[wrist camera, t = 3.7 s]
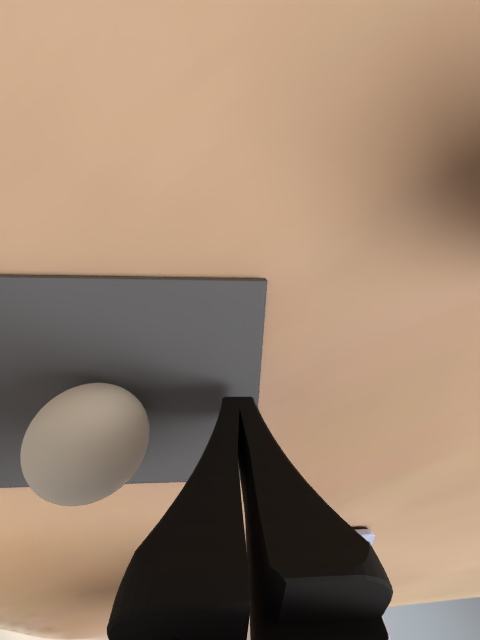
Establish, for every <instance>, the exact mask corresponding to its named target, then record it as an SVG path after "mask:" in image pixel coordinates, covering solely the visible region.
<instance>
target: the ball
mask: <svg viewBox="0 0 480 640" xmlns="http://www.w3.org/2000/svg"><path fill="white" fill-rule="evenodd" d="M149 434H150V429H149V421H148V417H147V414H146V411H145V409H144V407H143V406H142V404H141V402H140V401H139V400H138V399H137V398H136V397H135V396H134V395H133V394H132V393H130V392H129V391H127V390H126V389H124V388H122V387H119V386H117V385H113V384H108V383H89V384H83V385H80V386H76V387H73V388H71V389H69V390H66V391H64V392H63V393H61V394H59V395H57V396H56V397H54V398H53V399H52V400H50V401H49V402H48V403H47V404H46V405H45V406H44V407H43V408H42V409H41V410H40V411H39V412H38V413H37V415H36V416H35V417H34V418H33V420H32V421H31V423H30V425H29V427H28V429H27V431H26V433H25V436H24V438H23V442H22V446H21V454H20V460H21V468H22V472H23V475H24V478H25V480H26V482H27V483H28V485H29V487H30V488H31V489H32V490H33V491H34V492H35V493H36V494H37V495H38V496H40V497H41V498H43V499H44V500H46V501H48V502H51V503H54V504H57V505H62V506H80V505H86V504H90V503H93V502H96V501H99V500H101V499H103V498H105V497H107V496H109V495H111V494H112V493H114V492H115V491H117V490H118V489H119V488H121V487H122V486H123V485H124V484H125V483H126V482H127V481H128V480H129V479H130V478H131V477H132V476H133V474H134V473H135V472H136V470H137V469H138V467H139V466H140V464H141V462H142V460H143V458H144V456H145V453H146V450H147V447H148V443H149Z"/></svg>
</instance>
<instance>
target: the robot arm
mask: <svg viewBox="0 0 480 640" xmlns="http://www.w3.org/2000/svg"><path fill="white" fill-rule="evenodd" d="M238 463H239V465H238ZM239 471H240V478H239ZM240 479H241V486H242V494H243V502H244V510H245V522H246V542H247V552H246V542H245V533H244V523H243V512H242V502H241V490H240ZM374 539H375V536H374V533H373V531H372V530H370V529H357V530H354V529H353V528H352V527H351V526H350V525H349V524H348V523H347V522H345V521H344V520H343V519H342V518H341V517H340V516H339V515H338V514H337V513H336V512H335V511H334V510H333V509H332V508H331V507H330V506H329V505H328V504H327V503H326V502H325V501H324V500H323V499H322V498H321V497H320V496H319V495H318V494H317V492H316V491H315V490H314V489H313V488H312V487H311V486H310V485H309V484H308V483H307V482H306V480H305V479H304V478H303V477H302V476H301V474H300V473H299V472H298V471H297V469H296V468H295V467H294V466H293V464H292V463H291V462H290V460H289V459H288V458H287V456H286V455H285V454H284V452H283V451H282V449H281V448H280V446H279V445H278V443H277V442H276V440H275V439H274V437H273V435H272V434H271V432H270V430H269V429H268V427H267V425H266V424H265V422H264V420H263V418H262V416H261V414H260V412H259V410H258V408H257V406H256V403H255V401H254V398H253V397H224V398H222V404H221V409H220V413H219V416H218V419H217V422H216V425H215V427H214V430H213V433H212V435H211V437H210V439H209V442H208V444H207V446H206V448H205V450H204V452H203V454H202V456H201V458H200V460H199V462H198V464H197V466H196V467H195V469H194V471H193V473H192V474H191V476H190V478H189V479H188V481H187V482H186V484H185V486H184V487H183V489H182V490H181V492H180V493H179V495H178V496H177V498H176V499H175V501H174V502H173V503H172V505H171V506H170V508H169V509H168V510H167V512H166V513H165V515H164V516H163V517H162V519H161V520H160V521H159V523H158V524H157V525H156V526H155V528H154V529H153V530H152V531H151V533H150V534H149V535H148V536H147V537H146V539H145V540H144V541H143V542H142V544H141V545H140V546H139V547H138V549H137V550H136V551H135V553H134V555H133V557H132V559H131V561H130V563H129V565H128V568H127V570H126V572H125V574H124V577H123V579H122V581H121V584H120V586H119V589H118V592H117V595H116V598H115V601H114V605H113V608H112V612H111V615H110V619H109V623H108V626H107V636H108V638H109V640H247V632H248V624H249V616H250V636H251V640H391V637H390V635H389V632H388V630H387V627H386V624H385V622H384V619H383V616H382V615H383V614H384V612H385V610H386V608H387V607H388V605H389V603H390V601H391V598H392V595H393V590H392V586H391V584H390V581H389V579H388V577H387V574H386V572H385V570H384V568H383V566H382V564H381V562H380V561H379V559H378V557H377V555H376V553H375V551H374V550H373V548H372V544H373V541H374Z"/></svg>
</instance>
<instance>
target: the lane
mask: <svg viewBox="0 0 480 640" xmlns="http://www.w3.org/2000/svg"><path fill="white" fill-rule="evenodd" d="M266 291H267V280H266V279H260V278H194V277H128V276H63V275H0V488H11V487H29V485H28V483H27V482H26V480H25V478H24V475H23V472H22V468H21V460H20V454H21V446H22V442H23V438H24V436H25V433H26V431H27V429H28V427H29V425H30V423H31V421H32V420H33V418H34V417H35V416H36V415H37V413H38V412H39V411H40V410H41V409H42V408H43V407H44V406H45V405H46V404H47V403H48V402H49V401H50V400H52V399H53V398H54V397H56V396H57V395H59V394H61V393H63V392H64V391H66V390H69V389H71V388H73V387H76V386H80V385H83V384H89V383H108V384H113V385H117V386H119V387H122V388H124V389H126V390H127V391H129V392H130V393H132V394H133V395H134V396H135V397H136V398H137V399H138V400H139V401H140V402H141V404H142V406H143V407H144V409H145V411H146V414H147V417H148V421H149V429H150V434H149V443H148V447H147V450H146V453H145V456H144V458H143V460H142V462H141V464H140V466H139V467H138V469H137V470H136V472H135V473H134V474H133V476H132V477H131V478H130V479H129V480H128V481H127V482H126V483H125V484H136V483H168V482H187V481H188V479H189V478H190V476H191V474H192V473H193V471H194V469H195V467H196V466H197V464H198V462H199V460H200V458H201V456H202V454H203V452H204V450H205V448H206V446H207V444H208V442H209V439H210V437H211V435H212V433H213V430H214V427H215V425H216V422H217V419H218V416H219V413H220V409H221V404H222V398H224V397H253V398H254V401H255V403H256V406H257V408H258V399H259V386H260V372H261V359H262V345H263V332H264V318H265V305H266ZM238 465H239V463H238ZM239 478H240V471H239ZM240 480H241V479H240Z"/></svg>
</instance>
